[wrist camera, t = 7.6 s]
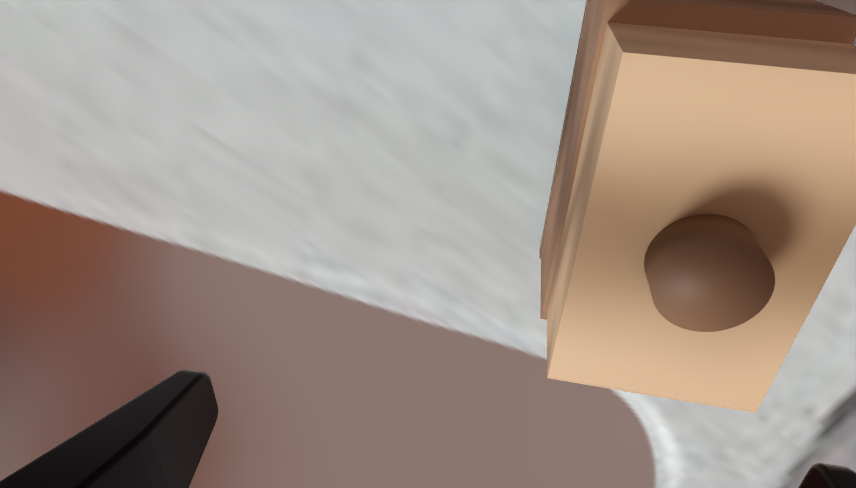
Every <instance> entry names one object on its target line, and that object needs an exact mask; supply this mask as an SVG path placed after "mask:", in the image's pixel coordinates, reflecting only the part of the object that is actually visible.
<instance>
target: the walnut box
mask: <svg viewBox="0 0 856 488" xmlns="http://www.w3.org/2000/svg"><path fill="white" fill-rule="evenodd" d="M607 22H609V23H621V24H632V25H643V26H654V27H666V28H677V29H688V30H699V31H711V32H722V33H733V34H744V35H756V36H767V37H778V38H790V39H801V40H812V41H823V42H835V43H846V44H850V45H852V44H853V41H854V39H855V37H856V15H853V14H850V13H848V12H845V11H842V10H839V9H836V8H834V7H831V6H828V5H825V4H822V3H819V2H817V1H814V0H587V2H586V8H585V13H584V18H583V23H582V29H581V34H580V39H579V45H578V50H577V55H576V61H575V66H574V71H573V77H572V82H571V87H570V93H569V98H568V103H567V109H566V114H565V119H564V125H563V130H562V135H561V140H560V146H559V151H558V156H557V162H556V167H555V172H554V178H553V183H552V188H551V194H550V199H549V204H548V210H547V215H546V220H545V226H544V231H543V236H542V241H541V247H540V258H541V319H547V304H548V300H549V295H550V290H551V285H552V281H553V276H554V271H555V266H556V262H557V257H558V252H559V248H560V243H561V238H562V233H563V229H564V224H565V219H566V214H567V210H568V205H569V200H570V196H571V191H572V186H573V181H574V177H575V172H576V167H577V162H578V158H579V153H580V148H581V144H582V139H583V134H584V129H585V125H586V120H587V115H588V110H589V106H590V101H591V96H592V92H593V87H594V82H595V77H596V73H597V68H598V63H599V59H600V54H601V49H602V44H603V40H604V35H605V30H606V25H607Z"/></svg>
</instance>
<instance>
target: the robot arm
mask: <svg viewBox="0 0 856 488" xmlns="http://www.w3.org/2000/svg"><path fill="white" fill-rule="evenodd" d="M217 416H218V405H217V402H216V398H215V394H214V390H213V386H212V383H211V379H210V376H209V375H208V374H207V373H205V372H201V371H193V370H187V369H185V370H181V371H178V372H176V373H175V374H173V375H172V376H170V377H168V378H167V379H165V380H164V381H162V382H160V383H159V384H157V385H155V386H154V387H152V388H150V389H149V390H147V391H146V392H144V393H142V394H141V395H139V396H137V397H136V398H134V399H133V400H131V401H130V402H128V403H126V404H125V405H123V406H121V407H120V408H118V409H117V410H115V411H113V412H112V413H110V414H108V415H107V416H105V417H103V418H102V419H100V420H99V421H97V422H95V423H94V424H92V425H91V426H89V427H87V428H86V429H84V430H83V431H81V432H79V433H78V434H76V435H74V436H73V437H71V438H69V439H68V440H67V441H65V442H63V443H61V444H60V445H58V446H56V447H55V448H53V449H52V450H50V451H48V452H47V453H45V454H43V455H42V456H40V457H39V458H37V459H35V460H34V461H32V462H31V463H29V464H27V465H26V466H24V467H22V468H21V469H19V470H18V471H16V472H14V473H13V474H11V475H9V476H8V477H6V478H5V479H3V480H1V481H0V488H189V486H190V484H191V481H192V479H193V476H194V474H195V472H196V469H197V467H198V464H199V462H200V459H201V457H202V454H203V452H204V450H205V447H206V445H207V442H208V440H209V438H210V435H211V433H212V430H213V428H214V426H215V423H216V420H217ZM799 488H856V473H855V472H854V471H852V470H851V469H849V468H847V467H843V466H837V465H830V464H823V463H817V464H815V465H813V466H811V468H810V469H809V471H808V472H807V474H806V476H805V477H804V479H803V481H802V483H801V484H800V486H799Z"/></svg>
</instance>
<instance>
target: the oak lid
mask: <svg viewBox="0 0 856 488" xmlns="http://www.w3.org/2000/svg"><path fill="white" fill-rule="evenodd" d="M855 225H856V47H855V46H853V45H850V44H846V43H835V42H823V41H812V40H801V39H790V38H778V37H767V36H756V35H744V34H733V33H722V32H711V31H699V30H688V29H677V28H666V27H654V26H643V25H632V24H621V23H609V22H607V25H606V30H605V35H604V40H603V44H602V49H601V54H600V59H599V63H598V68H597V73H596V77H595V82H594V87H593V92H592V96H591V101H590V106H589V110H588V115H587V120H586V125H585V129H584V134H583V139H582V144H581V148H580V153H579V158H578V162H577V167H576V172H575V177H574V181H573V186H572V191H571V196H570V200H569V205H568V210H567V214H566V219H565V224H564V229H563V233H562V238H561V243H560V248H559V252H558V257H557V262H556V266H555V271H554V276H553V281H552V285H551V290H550V295H549V300H548V304H547V378H551V379H556V380H563V381H569V382H574V383H580V384H586V385H592V386H598V387H604V388H610V389H616V390H622V391H628V392H634V393H640V394H646V395H652V396H658V397H664V398H670V399H676V400H682V401H688V402H694V403H700V404H706V405H712V406H718V407H724V408H730V409H736V410H742V411H748V412H754V413H756V412H757V410H758V408H759V406H760V404H761V402H762V401H763V399H764V397H765V395H766V393H767V391H768V389H769V387H770V385H771V384H772V382H773V380H774V378H775V376H776V374H777V372H778V370H779V368H780V367H781V365H782V363H783V361H784V359H785V357H786V355H787V353H788V351H789V350H790V348H791V346H792V344H793V342H794V340H795V338H796V336H797V334H798V332H799V331H800V329H801V327H802V325H803V323H804V321H805V319H806V317H807V315H808V314H809V312H810V310H811V308H812V306H813V304H814V302H815V300H816V298H817V297H818V295H819V293H820V291H821V289H822V287H823V285H824V283H825V281H826V280H827V278H828V276H829V274H830V272H831V270H832V268H833V266H834V264H835V262H836V261H837V259H838V257H839V255H840V253H841V251H842V249H843V247H844V245H845V244H846V242H847V240H848V238H849V236H850V234H851V232H852V230H853V228H854V227H855Z"/></svg>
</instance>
